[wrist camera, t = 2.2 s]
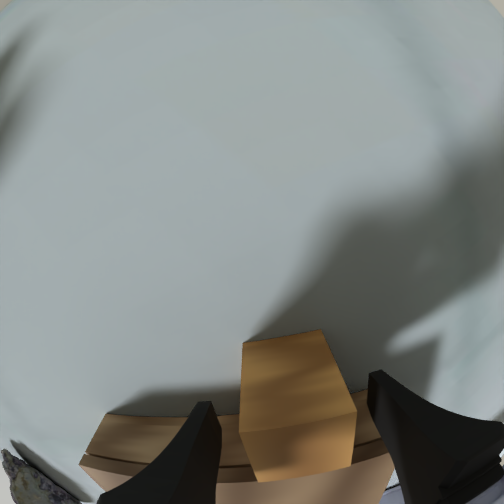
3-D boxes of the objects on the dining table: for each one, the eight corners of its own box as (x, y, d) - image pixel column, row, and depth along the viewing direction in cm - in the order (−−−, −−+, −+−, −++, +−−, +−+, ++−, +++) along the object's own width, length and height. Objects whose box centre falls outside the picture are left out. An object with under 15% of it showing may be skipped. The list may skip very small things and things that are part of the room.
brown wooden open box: (371, 388, 15) (394, 432, 11) (357, 474, 17) (368, 506, 13) (105, 413, 15) (85, 451, 11) (165, 491, 18) (158, 522, 14)
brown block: (320, 329, 14) (357, 411, 8) (324, 385, 14) (350, 466, 9) (242, 342, 14) (238, 432, 8) (256, 397, 15) (258, 482, 9)
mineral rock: (5, 438, 19) (-24, 479, 9) (62, 472, 19) (36, 524, 9) (37, 480, 22) (17, 516, 12) (89, 507, 22) (73, 549, 12)
